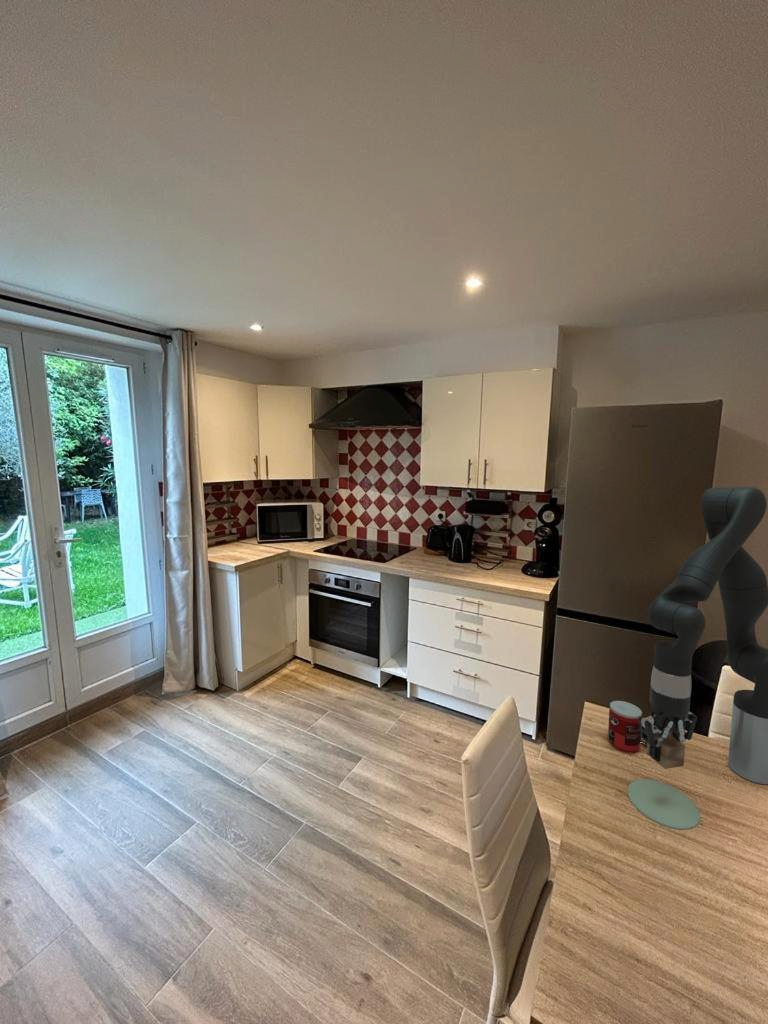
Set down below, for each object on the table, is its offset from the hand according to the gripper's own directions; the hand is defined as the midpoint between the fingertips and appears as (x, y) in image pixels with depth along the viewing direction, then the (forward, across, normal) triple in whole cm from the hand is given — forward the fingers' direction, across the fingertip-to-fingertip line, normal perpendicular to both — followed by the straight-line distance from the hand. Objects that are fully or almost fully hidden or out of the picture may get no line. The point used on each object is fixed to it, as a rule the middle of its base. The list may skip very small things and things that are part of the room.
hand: (665, 757), depth 97 cm
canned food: (+12, -7, -20) cm, 24 cm away
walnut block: (+1, 0, 0) cm, 1 cm away
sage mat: (+12, 0, 0) cm, 12 cm away
